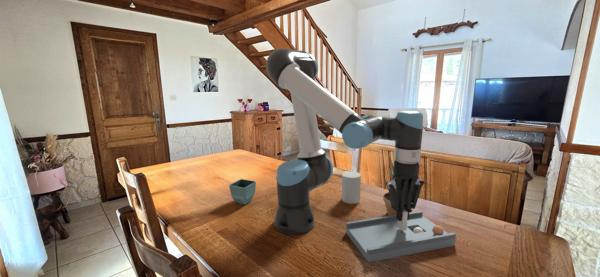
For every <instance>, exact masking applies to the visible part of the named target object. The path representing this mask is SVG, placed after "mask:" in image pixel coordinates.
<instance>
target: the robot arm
mask: <svg viewBox="0 0 600 277" xmlns="http://www.w3.org/2000/svg"><path fill="white" fill-rule="evenodd" d="M265 64H266V65H265V69H266V73H267V75H268V77H269V78H270V80H272V82H273V83H275V84H276V85H277V86H279V88H281V89H283V90H284V89H285V90H287V91H289V92H290V96H291V103H292V110H293V116H294V123H295V128H296V133H297V134H296V135H297V140H298V147H299V153H298V154H297V155H296V158H297V159H292V160H286V161H284V162H282V163H281V164H280V165H278V167H277V169H276V179H275V180H276V190H277V208H276V212H275V215H274V218H273V220H274V221H273V223H274V224H273V225H274V228H275V229H276V230H277V231H278V232H279V233H280V234H281V233H282V234H285V235H290V236H294V235H301V234H304V233H307V232H309V231H311V230H312V229H313V228H314V227H315V214H314V213H313V210H312V207H311V204H310V192H312V191H313V190H315V189H317V188H318V187H321V186H323V185H325V184H326V182H327V181H329V180H330V179H331V178H332V176H333V173H334V166H333V162H332V160H331V159H329V157H328V156H327V153H326V150H324V149H323V148H322V147H321V146H322V145H321V139H320V132H319V126H318V120H317V116H320V117H321V118H322V119H323V120H324V121H325V122H326V123H328V124H329V125H330V126H331V127H333V128H334V129H335V130H336V131H338V132H339V133H340V134H341V138H342V140H343V142H344V145H345V146H347V148H350V149H353V150H358V149H361V148H366V147H367V146H369V145H371V144H372V143H374V142H376V141H378V140H382V141H392V142H393V141H394V154H393V158H394V161H393V166H394V169H393V170H394V176H393V180H392V179H391V180H390V181H388V182H385V186H386V187H387V189H388V192H389V196H390V202H391V207H392V208H393V209H394V210H395V211H397V215H396V218H397V220H398V225H397V227H398V228H400V229H401V230H402V231H405V230H406V228H407V220H408V219H409V213H411V212H413V210H412V209H416V207H417V204H418V200H419V196H420V193H421V189H422V187H423V186H424V184H425V180H423V179H421V178H419V173H420V165H421V164H420V161H421V152H422V140H423V133H424V132H423V131H424V115H423V113H422V112H421V111H417V110H400V111H398V112H396V115H395V116H382V115H381V116H380V115H373V114H371V115H362V116H361V115H359V114H358V113H357V112H355V111H354V110H353V109H351V107H349V106H348V105H346V104H345V103H344V102H343V101H341V100H340V99H339V98H338V97H336V96H335V95H334V94H332V93H331V92H329V91H328V90H327V89H326V88H324V87H323V86H321V85H320V84H319V83H318V82H316V80H315V79H316V78H317V74H318V73H319V64H318V62H317V59H316V58H315V57H314V55H312V54H311V53H310V52H307V51H305V50H296V49H289V48H284V47H283V48H282V47H281V48H277V49H276V50H273V51H272V52H270V54H269V56H268V57H267V59H266V63H265ZM395 184H396V186H395ZM395 188H396V189H397V194H396V189H395Z"/></svg>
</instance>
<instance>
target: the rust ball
mask: <svg viewBox="0 0 600 277" xmlns="http://www.w3.org/2000/svg"><path fill="white" fill-rule="evenodd" d="M435 225H436V224H435ZM432 231H433V233H434V234H435V235H436V236H437V235H442V234H443V233H444V231H445V230H444V228H443V227H442V226H441V225H436V226H434V227H433V229H432Z"/></svg>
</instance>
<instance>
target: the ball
mask: <svg viewBox="0 0 600 277" xmlns="http://www.w3.org/2000/svg"><path fill="white" fill-rule="evenodd" d="M413 232H414V233H421V232H424V231H423V229H422V228H420V227H416V228H414V230H413Z"/></svg>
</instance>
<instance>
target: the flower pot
mask: <svg viewBox="0 0 600 277" xmlns="http://www.w3.org/2000/svg"><path fill="white" fill-rule="evenodd" d="M228 186H229V191H230V192H229V193H230V196H231V198H232V200H233V201H234V202H235V203H237V204H240V205H247V204H248V203H250V202H251V201H252V200H253V198H254V196H255V193H256V187H257V181H255V180H249V179H244V178H243V179H242V178H240V179H238V180H236V181H234V182H232V183H230V184H229V185H228Z"/></svg>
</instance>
